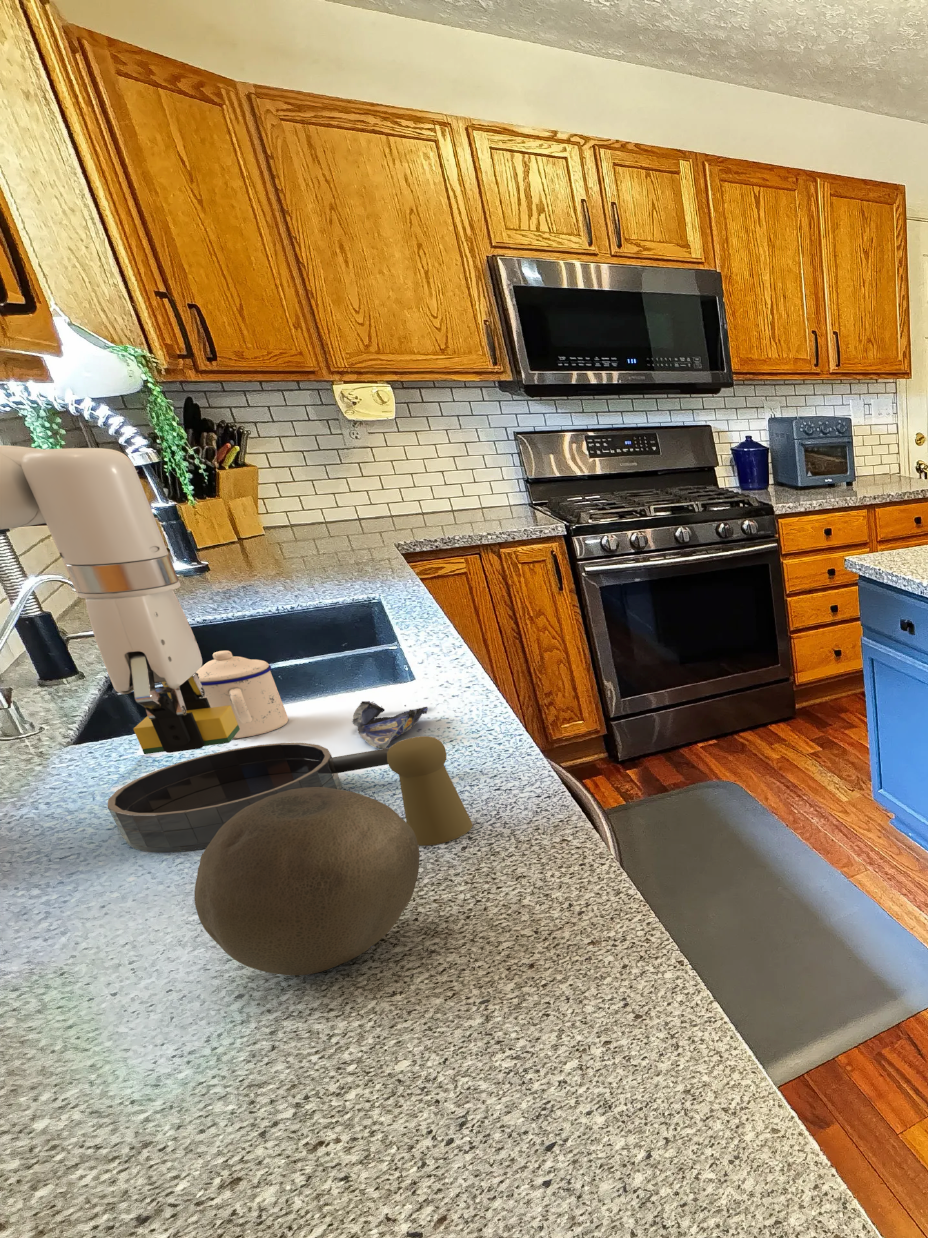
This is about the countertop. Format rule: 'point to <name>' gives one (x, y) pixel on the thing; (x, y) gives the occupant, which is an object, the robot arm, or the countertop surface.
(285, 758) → the pan
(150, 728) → the sponge
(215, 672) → the teacup with lid
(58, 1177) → the countertop surface
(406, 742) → the cork
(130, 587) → the robot arm
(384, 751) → the pan handle
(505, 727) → the countertop surface
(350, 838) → the cantaloupe
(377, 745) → the snack package
